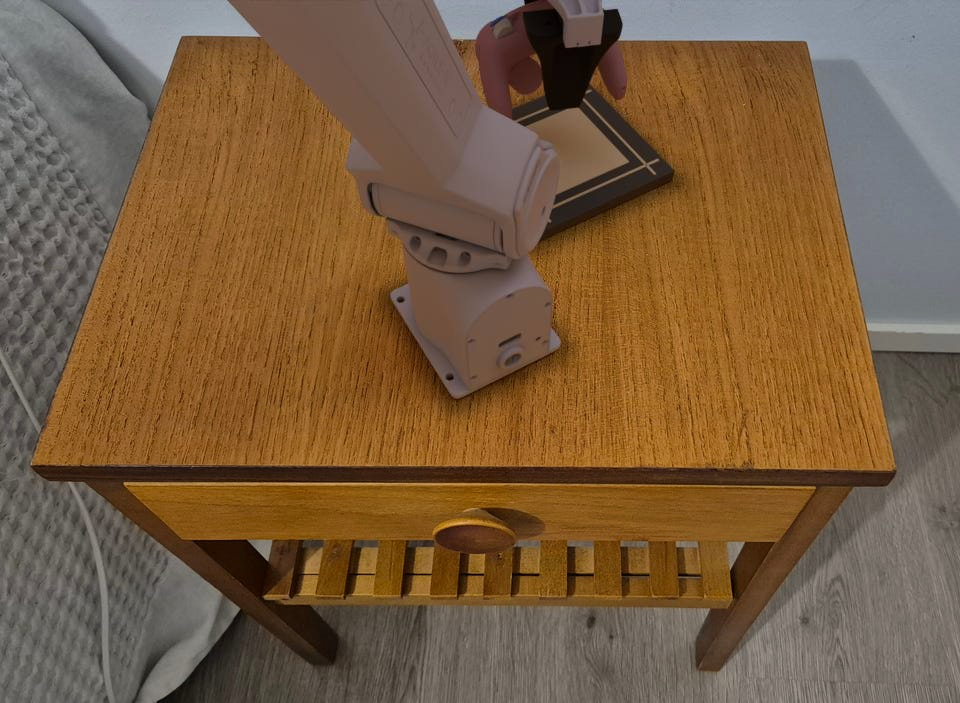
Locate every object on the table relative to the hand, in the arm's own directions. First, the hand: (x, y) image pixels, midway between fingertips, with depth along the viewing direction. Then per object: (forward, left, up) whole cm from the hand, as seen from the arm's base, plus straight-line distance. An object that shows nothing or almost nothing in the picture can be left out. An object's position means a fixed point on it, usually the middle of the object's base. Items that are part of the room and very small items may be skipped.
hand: (554, 71), depth 55 cm
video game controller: (0, 0, -2) cm, 2 cm away
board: (-1, -1, -8) cm, 8 cm away
